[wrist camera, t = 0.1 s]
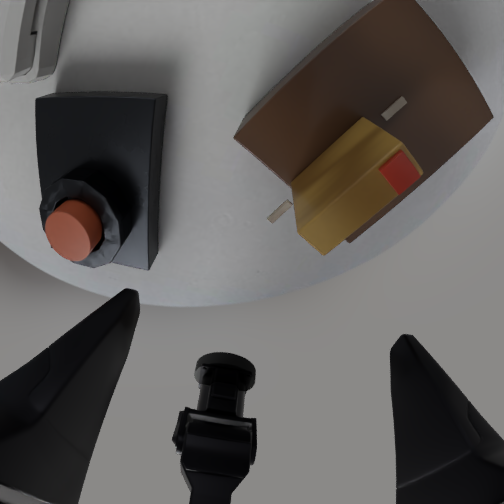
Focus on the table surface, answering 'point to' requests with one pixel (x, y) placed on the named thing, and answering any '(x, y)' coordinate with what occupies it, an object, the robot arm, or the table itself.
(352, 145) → the block
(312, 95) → the brown box with slot
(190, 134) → the table surface
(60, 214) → the arm button
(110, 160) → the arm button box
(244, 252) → the table surface
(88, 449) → the robot arm
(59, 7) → the intercom
